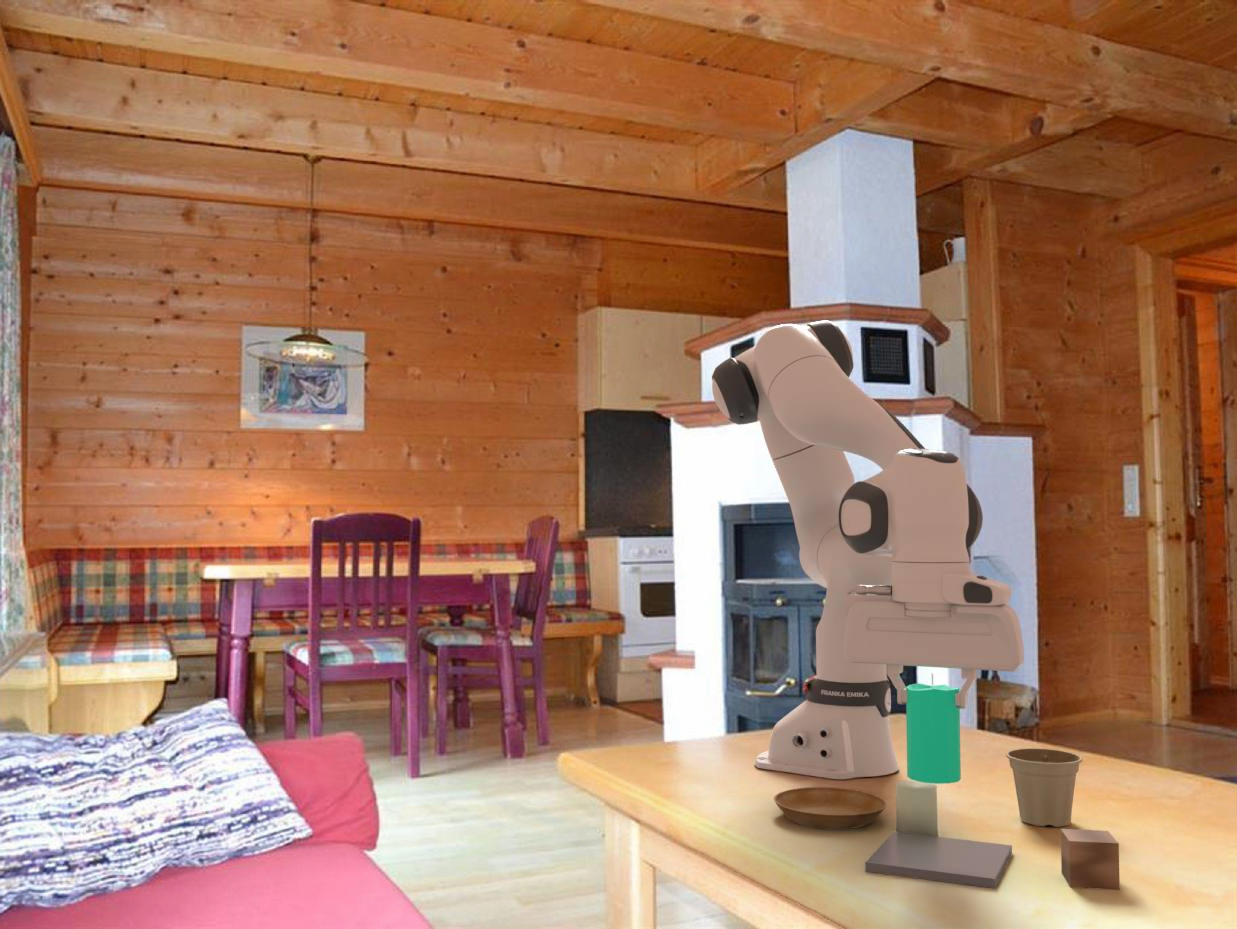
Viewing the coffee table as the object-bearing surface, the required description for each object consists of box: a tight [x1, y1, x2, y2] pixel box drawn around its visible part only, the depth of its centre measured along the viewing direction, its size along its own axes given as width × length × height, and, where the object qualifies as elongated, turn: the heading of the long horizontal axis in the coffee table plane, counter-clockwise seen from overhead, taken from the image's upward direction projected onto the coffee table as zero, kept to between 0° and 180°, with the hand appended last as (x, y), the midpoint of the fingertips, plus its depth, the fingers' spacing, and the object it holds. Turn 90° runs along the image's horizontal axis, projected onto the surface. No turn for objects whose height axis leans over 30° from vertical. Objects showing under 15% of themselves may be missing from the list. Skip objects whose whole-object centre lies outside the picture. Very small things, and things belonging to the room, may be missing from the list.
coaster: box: [864, 831, 1013, 889], centre depth 132 cm, size 14×14×1 cm
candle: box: [905, 673, 962, 785], centre depth 133 cm, size 6×6×12 cm
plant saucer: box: [773, 786, 887, 830], centre depth 152 cm, size 15×15×3 cm
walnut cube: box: [1060, 828, 1121, 891], centre depth 125 cm, size 5×5×5 cm
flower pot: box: [1005, 747, 1083, 828], centre depth 150 cm, size 9×9×9 cm
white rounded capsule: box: [895, 780, 939, 837], centre depth 144 cm, size 5×5×6 cm
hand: (932, 705), depth 133 cm, fingers closed on candle, 5 cm apart
